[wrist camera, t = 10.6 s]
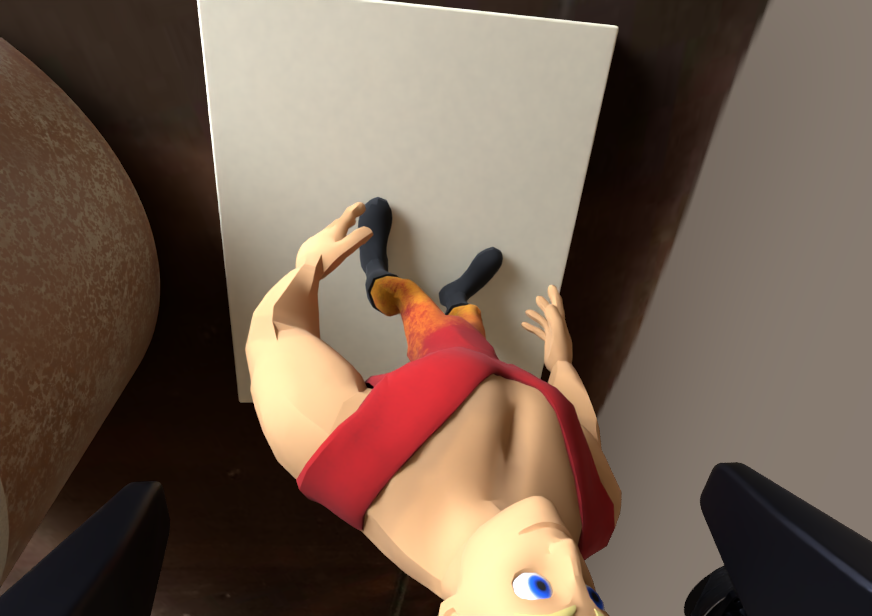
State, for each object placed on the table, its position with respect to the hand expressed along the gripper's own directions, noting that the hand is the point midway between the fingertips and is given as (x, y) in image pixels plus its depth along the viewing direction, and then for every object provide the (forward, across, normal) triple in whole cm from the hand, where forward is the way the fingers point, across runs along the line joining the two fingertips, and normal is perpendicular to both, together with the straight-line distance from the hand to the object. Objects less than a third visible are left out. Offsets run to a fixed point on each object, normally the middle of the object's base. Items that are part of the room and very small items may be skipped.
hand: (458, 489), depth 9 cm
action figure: (+11, -1, +1) cm, 11 cm away
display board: (+12, 0, 0) cm, 12 cm away
